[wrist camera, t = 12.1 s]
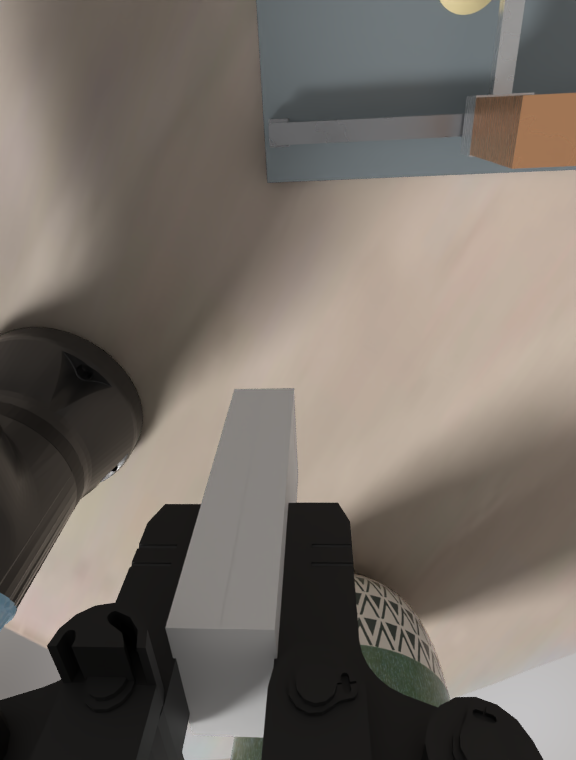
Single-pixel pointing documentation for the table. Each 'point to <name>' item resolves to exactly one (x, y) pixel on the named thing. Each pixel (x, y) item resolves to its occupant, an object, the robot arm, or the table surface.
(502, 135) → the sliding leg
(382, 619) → the planter
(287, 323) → the table surface
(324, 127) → the rail
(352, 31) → the gauge board
